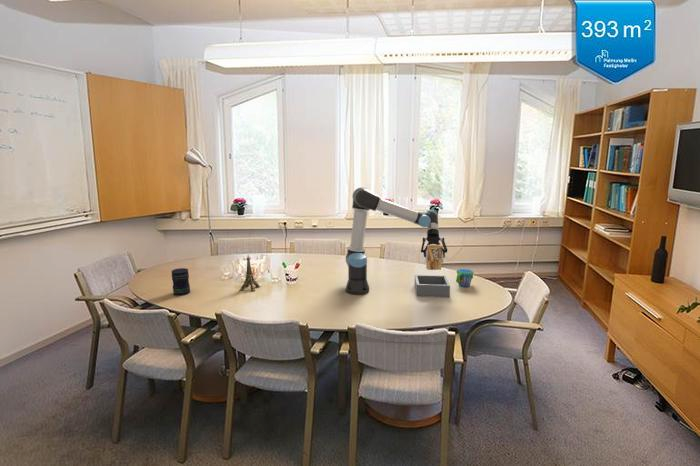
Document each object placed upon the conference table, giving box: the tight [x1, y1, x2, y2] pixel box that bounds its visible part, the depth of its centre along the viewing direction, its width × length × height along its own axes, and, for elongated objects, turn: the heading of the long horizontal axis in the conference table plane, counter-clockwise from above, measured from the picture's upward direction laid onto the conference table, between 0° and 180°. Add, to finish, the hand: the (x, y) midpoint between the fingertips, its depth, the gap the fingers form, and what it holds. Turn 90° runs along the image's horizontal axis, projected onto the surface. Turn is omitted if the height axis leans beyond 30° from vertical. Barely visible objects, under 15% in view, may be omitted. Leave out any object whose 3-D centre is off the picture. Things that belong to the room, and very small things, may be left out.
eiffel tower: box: [238, 255, 262, 293], centre depth 265 cm, size 11×11×25 cm
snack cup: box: [455, 268, 474, 288], centre depth 273 cm, size 16×10×10 cm
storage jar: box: [171, 267, 191, 297], centre depth 258 cm, size 10×10×15 cm
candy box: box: [425, 244, 443, 271], centre depth 258 cm, size 9×4×15 cm, turn 92°
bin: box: [413, 274, 451, 298], centre depth 262 cm, size 20×20×8 cm
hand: (434, 261), depth 256 cm, fingers closed on candy box, 9 cm apart
